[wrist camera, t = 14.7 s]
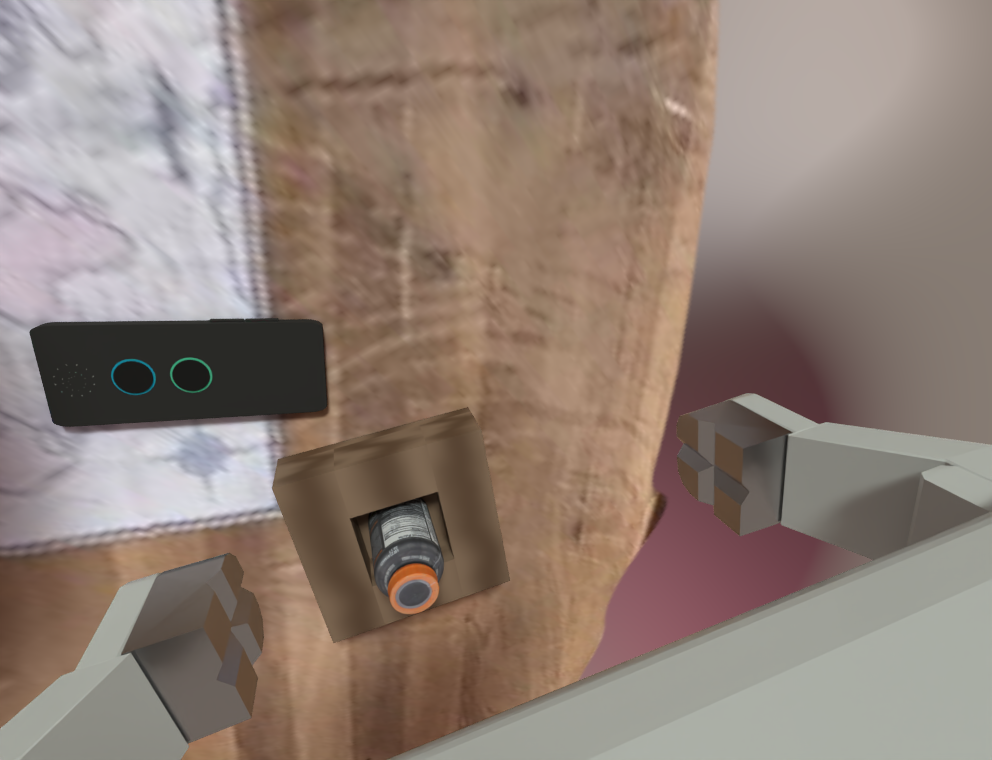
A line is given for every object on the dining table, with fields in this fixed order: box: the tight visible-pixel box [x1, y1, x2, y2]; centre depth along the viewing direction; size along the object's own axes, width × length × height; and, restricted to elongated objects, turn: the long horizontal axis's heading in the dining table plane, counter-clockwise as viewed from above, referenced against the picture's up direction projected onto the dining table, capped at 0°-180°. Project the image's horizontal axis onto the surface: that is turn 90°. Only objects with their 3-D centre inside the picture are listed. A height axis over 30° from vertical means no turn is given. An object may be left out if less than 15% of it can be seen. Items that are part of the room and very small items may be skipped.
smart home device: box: [30, 318, 327, 427], centre depth 41 cm, size 8×2×20 cm
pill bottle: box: [368, 497, 444, 614], centre depth 46 cm, size 6×6×11 cm
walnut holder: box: [272, 407, 510, 643], centre depth 49 cm, size 18×18×5 cm
